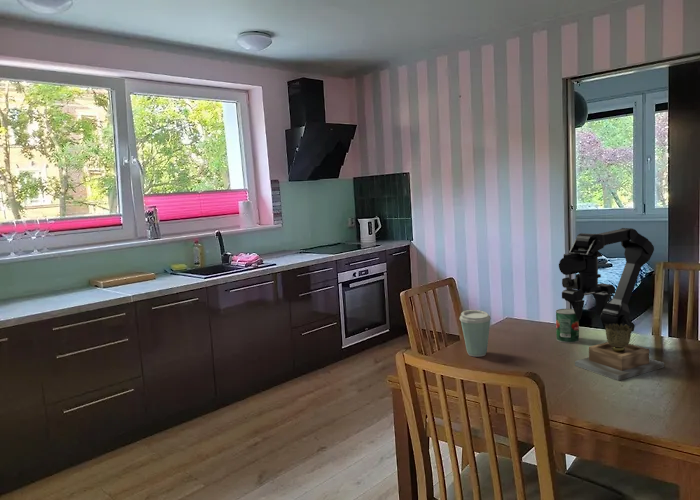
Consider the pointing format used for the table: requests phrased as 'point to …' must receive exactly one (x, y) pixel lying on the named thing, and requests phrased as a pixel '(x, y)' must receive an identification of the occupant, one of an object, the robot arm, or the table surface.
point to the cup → (618, 336)
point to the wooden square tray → (618, 361)
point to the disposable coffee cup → (475, 331)
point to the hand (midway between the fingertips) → (588, 317)
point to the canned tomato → (567, 326)
